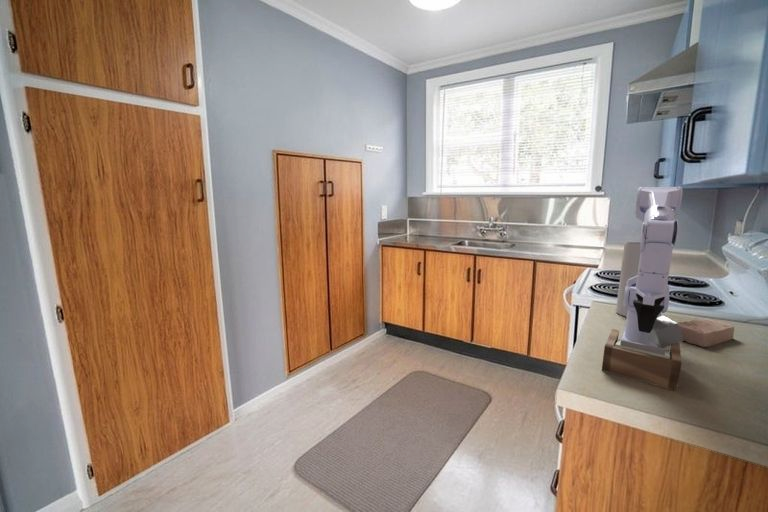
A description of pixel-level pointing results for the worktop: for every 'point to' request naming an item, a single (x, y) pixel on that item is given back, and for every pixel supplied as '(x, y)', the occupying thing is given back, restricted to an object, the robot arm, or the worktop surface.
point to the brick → (705, 332)
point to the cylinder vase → (628, 272)
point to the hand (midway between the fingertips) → (645, 327)
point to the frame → (642, 364)
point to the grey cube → (665, 332)
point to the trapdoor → (643, 348)
